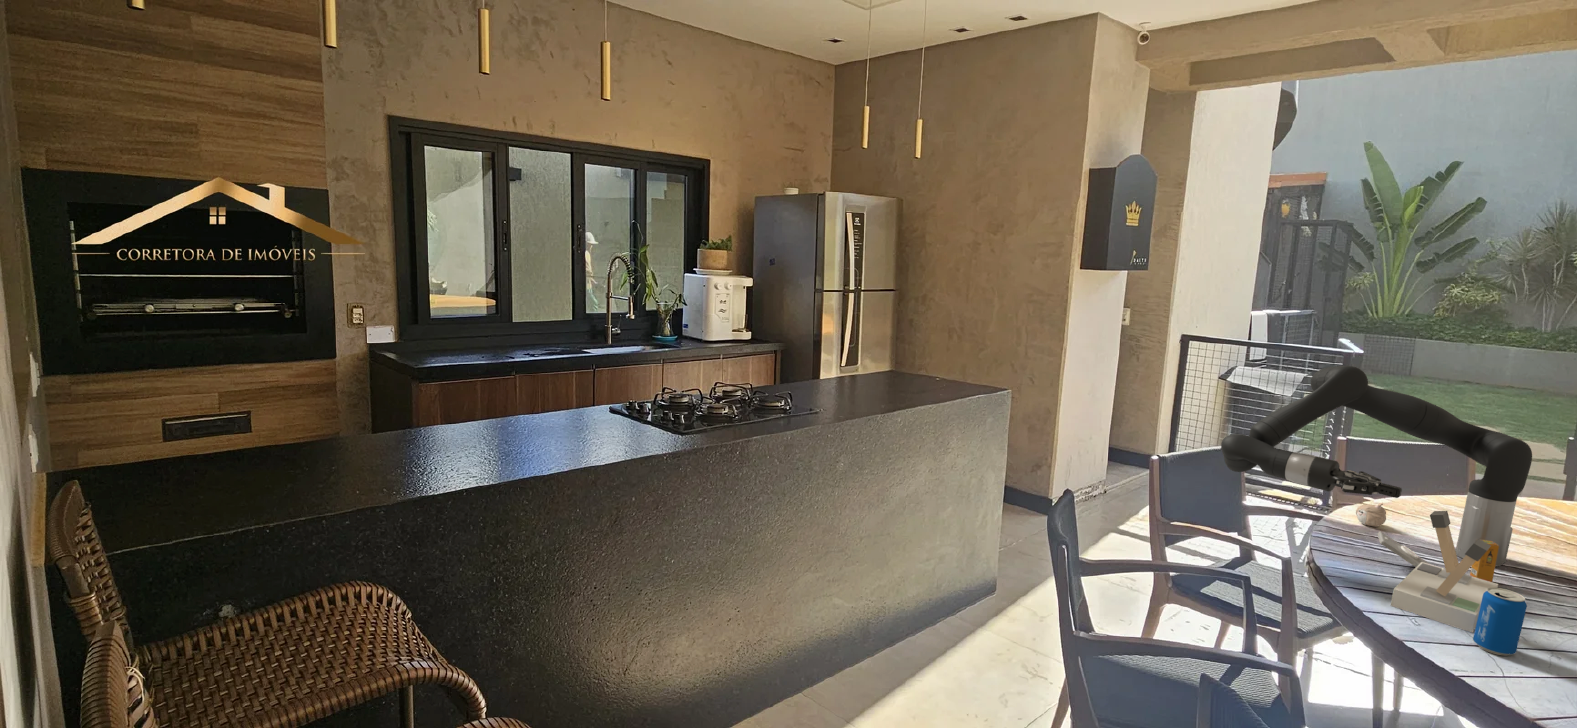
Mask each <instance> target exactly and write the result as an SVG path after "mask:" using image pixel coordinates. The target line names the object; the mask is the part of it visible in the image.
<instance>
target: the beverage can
mask: <svg viewBox="0 0 1577 728" xmlns="http://www.w3.org/2000/svg"><path fill="white" fill-rule="evenodd" d="M1527 607H1528V605H1527V603H1526V597H1524V596H1523V595H1521V594H1520V593H1518V592H1515V591H1513V590H1510V589H1506V588H1501V587H1498V588H1495V587H1490V588H1488V589H1487V591H1486V592H1484V593H1483V597H1482V601H1481V606H1480V610H1479V615H1478V619H1477V624H1476V628H1475V629H1474V634H1473V638H1472V639H1473V640H1472V641H1473V642H1474V643H1475V644H1476V645H1477V647H1478V648H1480V649H1482V650H1484V651H1485V652H1488V653H1491V654H1494V655H1496V656H1506V657H1507V656H1510V655H1515V654H1516V653H1517V651H1518V647H1519V646H1518V645H1519V641H1520V637H1521V634H1522V628H1523V625H1524V620H1525V616H1526V612H1527Z"/></svg>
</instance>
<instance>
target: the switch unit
mask: <svg viewBox="0 0 1577 728" xmlns="http://www.w3.org/2000/svg"><path fill="white" fill-rule="evenodd" d="M1449 575H1450V573H1446V569H1445V567H1444V568H1443V567H1440V566H1437V565H1433V564H1431V563H1429V564H1427V563H1424V562H1421V563H1420V564H1419V565H1418V566H1417V567H1415V568H1413V569H1412V570H1411V572H1409V573H1408V574H1407V575H1406V576H1405V577H1404V578H1403V579H1402V580H1401V581H1400V582H1399V583H1398V584H1397V585H1396V586H1395V587H1394V588H1393V590H1392V596H1391V600H1390V601H1391V602H1390V607H1394V608H1397V609H1399V610H1403V611H1405V612H1408V611H1409V612H1408V613H1411V612H1413V613H1412V614H1414V613H1415V615H1417V614H1418V615H1417V616H1420V617H1424V618H1427V619H1430V620H1432V621H1436V622H1439V623H1441V624H1445V625H1448V626H1451V627H1454V628H1457V629H1460V630H1463V631H1465V632H1469V633H1473V632H1475V628H1476V624H1477V619H1478V615H1479V610H1480V606H1481V601H1482V597H1483V593H1484V592H1486V591H1487V589H1488V588H1490V587H1495V588H1499V583H1496V582H1493V581H1492V582H1489V581H1486V580H1482V579H1479V578H1476V577H1472V576H1471V575H1470V574H1467V573H1465V574H1464V575H1463V576H1462V578H1461V579H1460V580H1459V581H1458V582H1457V583H1456V585H1455V586H1454V587H1453V588H1452V589H1451V590H1450V591H1449V593H1448V594H1447V595H1446V596H1443V595H1442V594H1440V593H1438V592H1437V591H1436V590H1437V589H1438V588H1439V586H1440V585H1441V584H1442V583H1443V582H1444V581H1445V579H1446V578H1447V577H1448V576H1449Z"/></svg>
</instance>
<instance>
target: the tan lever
mask: <svg viewBox="0 0 1577 728" xmlns="http://www.w3.org/2000/svg"><path fill="white" fill-rule="evenodd" d="M1490 547H1491V545H1489V544H1487V543H1485V542H1484V541H1482V540H1480V539H1477V540H1476V541H1475V542H1474V543H1473V545H1472V546H1471V547H1470V548H1469V549H1468V551H1467V552H1466V553H1465V555H1466V556H1465V557H1464V558H1461V561H1460V562H1458V563H1459V564H1458V565H1457V566H1456V568H1455V569H1454V570H1453V571H1452V572H1451V573H1450V575H1449V576H1448V577H1447V578H1446V579H1445V581H1444V582H1443V583H1442V584H1441V585H1440V586H1439V588H1438V589H1437V590H1436V591H1437V592H1438V593H1440V594H1442V595H1443V596H1446V595H1447V594H1448V593H1449V591H1450V590H1451V589H1452V588H1453V587H1454V586H1455V585H1456V583H1457V582H1458V581H1459V580H1460V579H1461V578H1462V576H1463V575H1464V574H1467V572H1468V571H1469V569H1471V567H1472V565H1473V564H1474V562H1475V561H1477V562H1478V561H1479V560H1480V558H1481V557H1482V556H1483V555H1484V554H1485V553H1486V551H1487V550H1488V549H1489V548H1490Z"/></svg>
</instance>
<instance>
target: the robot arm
mask: <svg viewBox="0 0 1577 728" xmlns="http://www.w3.org/2000/svg"><path fill="white" fill-rule="evenodd" d="M1310 387H1311V389H1312V392H1310V393H1308V394H1307V395H1305V396H1303V397H1301V398H1299V399H1298V400H1295V401H1293V402H1291V403H1288V404H1286V405H1284V406H1281V407H1280V408H1278V409H1276V410H1274V411H1273V412H1270V414H1268V415H1266V416H1265V417H1263V418H1262V419H1261V420H1259V421H1257V422H1256V423H1254V424H1253V425H1252V426H1251V427H1250V430H1249V434H1248V435H1247V434H1243V433H1234V434H1233V433H1232V434H1229V435H1227V436H1225V437H1223V439H1222V440H1221V444H1220V449H1221V454H1222V457H1223V460H1224V463H1225V465H1226V467H1227V468H1228V469H1229V470H1230V471H1233V472H1236V473H1244V472H1248V471H1250V470H1252V469H1253V468H1255V467H1256V466H1258V467H1259V468H1260V469H1261V471H1262V472H1263V473H1264V474H1265V475H1268V476H1271V477H1275V478H1280V479H1283V480H1287V481H1290V482H1293V483H1294V484H1297V485H1302V486H1305V487H1308V488H1309V487H1310V488H1312V489H1313V488H1314V489H1317V490H1320V491H1324V492H1331V491H1333V490H1334V488H1335V487H1337V488H1340V489H1341V491H1342V493H1350V494H1358V495H1359V494H1361V495H1369V496H1372V495H1373V494H1374V495H1378V494H1379V495H1382V496H1387V497H1391V498H1395V499H1399V498H1400V497H1401V495H1402V491H1403V489H1402V487H1400V486H1395V485H1392V484H1387V483H1383V482H1382V479H1380V478H1378V477H1376V476H1374V475H1372V474H1370V473H1368V472H1365V471H1363V470H1362V471H1358V472H1357V471H1353V470H1350V469H1347V470H1342V469H1340V468H1341V467H1340V463H1339V462H1338V461H1337V460H1334V459H1330V458H1329V459H1328V458H1325V457H1322V456H1321V457H1320V456H1316V455H1313V454H1309V453H1303V452H1302V453H1301V452H1295V451H1291V450H1286V449H1281V448H1277V447H1276V446H1277V445H1279V444H1281V443H1282V442H1283V441H1285V440H1287V439H1288V438H1289V437H1291V436H1292V435H1294V434H1295V433H1297V432H1298V431H1299V430H1301V429H1302V428H1304V427H1306V426H1307V425H1309V424H1311V423H1312V422H1314V421H1316V420H1317V419H1319V418H1321V417H1323V416H1324V415H1327V414H1328V413H1330V412H1332V411H1334V410H1336V409H1337V408H1338V409H1339V408H1340V407H1345V408H1347V409H1350V410H1354V411H1357V412H1359V413H1362V414H1364V415H1366V416H1368V417H1370V418H1373V419H1375V420H1377V421H1379V422H1381V423H1383V424H1385V425H1387V426H1390V427H1393V428H1394V429H1396V430H1398V431H1401V432H1403V433H1405V434H1408V435H1410V436H1412V437H1415V438H1418V439H1421V440H1424V441H1426V442H1431V443H1434V444H1435V443H1436V444H1440V445H1443V446H1446V447H1448V448H1451V449H1453V450H1455V451H1457V452H1458V453H1461V454H1462V455H1464V456H1466V457H1468V458H1470V459H1471V460H1473V461H1475V462H1476V463H1478V464H1480V465H1482V466H1484V467H1485V471H1484V474H1483V476H1482V477H1481V479H1479V478H1478V479H1473V480H1471V481H1470V482H1469V485H1468V486H1469V487H1468V490H1467V493H1466V494H1467V496H1466V500H1465V505H1464V507H1463V508H1464V510H1463V513H1462V518H1461V523H1460V528H1459V533H1458V538H1457V542H1456V548H1455V551H1456V555H1457V557H1459V558H1461V559H1463V558H1464V557H1465V556H1466V555H1465V553H1466V552H1467V551H1468V549H1469V548H1470V547H1471V546H1472V545H1473V543H1474V542H1475V541H1476V540H1477V539H1480V540H1487V541H1492V542H1494V543H1496V544H1497V545H1499V549H1498V554H1497V560H1496V565H1495V567H1501V566H1502V565H1503V564H1505V563H1506V562H1507V557H1508V552H1509V547H1510V543H1511V539H1512V535H1513V527H1512V522H1513V519H1514V513H1515V509H1516V505H1517V500H1518V498H1519V497H1518V496H1519V495H1521V494H1520V493H1522V492H1523V490H1524V488H1525V485H1526V482H1527V479H1528V476H1529V473H1530V469H1531V465H1532V462H1533V461H1532V460H1533V452H1532V449H1531V446H1530V445H1529V443H1527V442H1525V441H1523V440H1522V439H1519V438H1517V437H1514V436H1512V435H1509V434H1505V433H1502V432H1500V431H1499V432H1498V431H1495V430H1491V429H1488V428H1484V427H1481V426H1477V425H1474V424H1471V423H1468V422H1466V421H1464V420H1461V419H1460V418H1459V417H1457V416H1456V415H1454V414H1452V413H1451V412H1449V411H1448V410H1446V409H1444V408H1443V407H1440V406H1438V405H1437V404H1433V403H1431V402H1429V401H1427V400H1424V399H1422V398H1419V397H1416V396H1414V395H1409V394H1407V393H1404V392H1403V393H1402V392H1398V391H1393V390H1388V389H1383V388H1379V387H1375V386H1371V385H1369V379H1368V377H1367V374H1366V373H1365V372H1364V370H1362V369H1360V367H1359V368H1358V367H1357V366H1352V365H1339V366H1338V365H1336V366H1327V367H1323V368H1321V369H1319V370H1317V371H1316V372H1315V373H1314V374H1313V375H1312V376H1311V377H1310Z"/></svg>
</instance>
